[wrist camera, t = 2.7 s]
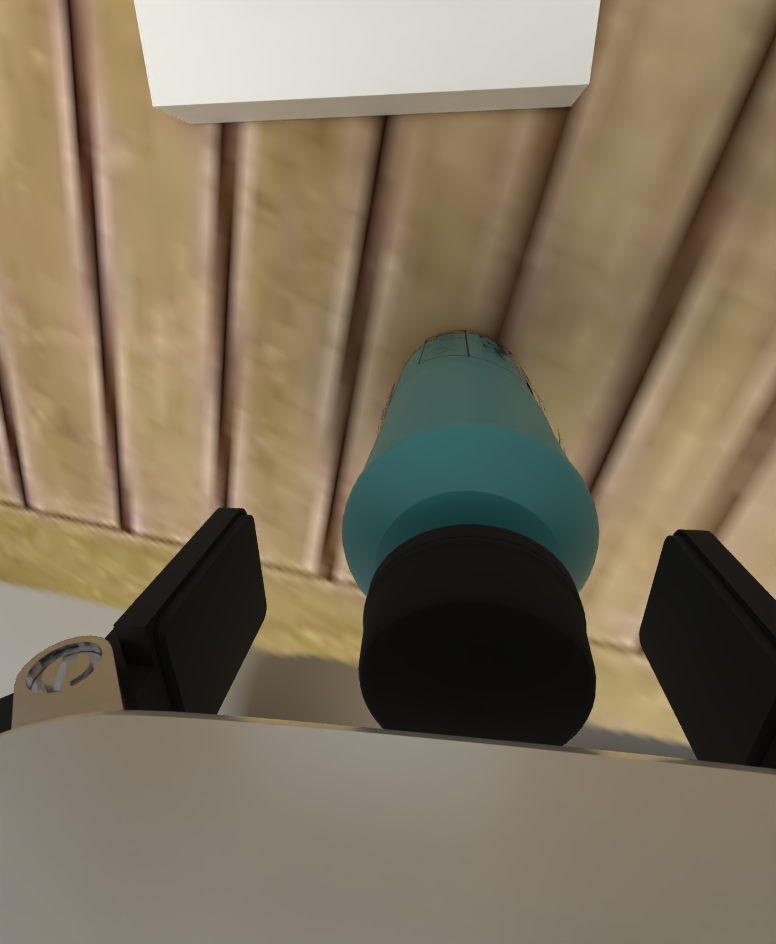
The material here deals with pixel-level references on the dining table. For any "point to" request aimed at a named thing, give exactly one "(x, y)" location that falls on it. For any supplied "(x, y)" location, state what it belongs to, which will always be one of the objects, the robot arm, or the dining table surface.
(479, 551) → the beverage bottle
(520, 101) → the display stand
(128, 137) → the dining table surface
